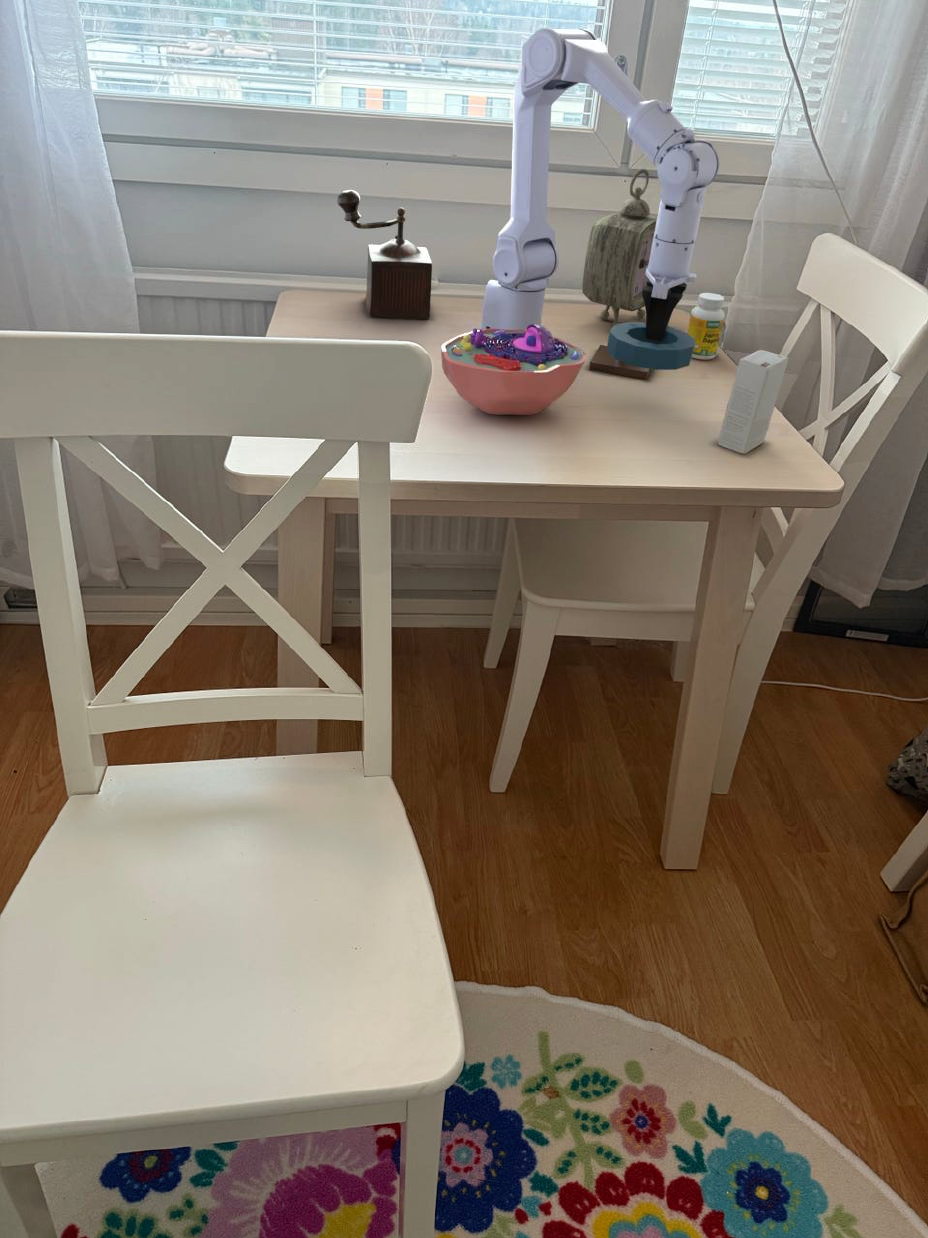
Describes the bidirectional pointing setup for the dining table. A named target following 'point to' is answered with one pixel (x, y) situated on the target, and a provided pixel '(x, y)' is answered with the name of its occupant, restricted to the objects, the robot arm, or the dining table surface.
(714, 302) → the supplement bottle
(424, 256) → the manual coffee grinder
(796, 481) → the dining table surface
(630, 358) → the ring
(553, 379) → the cell model
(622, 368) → the peg stand
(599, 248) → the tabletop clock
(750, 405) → the cosmetic box
